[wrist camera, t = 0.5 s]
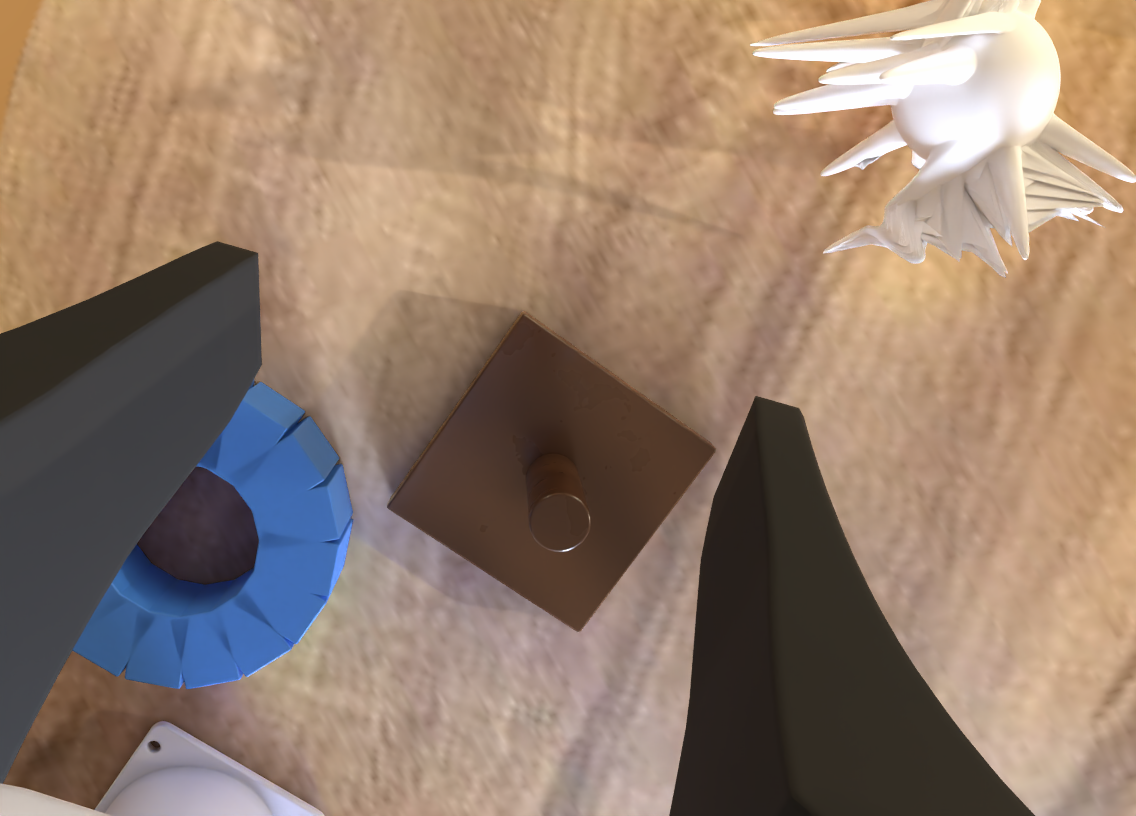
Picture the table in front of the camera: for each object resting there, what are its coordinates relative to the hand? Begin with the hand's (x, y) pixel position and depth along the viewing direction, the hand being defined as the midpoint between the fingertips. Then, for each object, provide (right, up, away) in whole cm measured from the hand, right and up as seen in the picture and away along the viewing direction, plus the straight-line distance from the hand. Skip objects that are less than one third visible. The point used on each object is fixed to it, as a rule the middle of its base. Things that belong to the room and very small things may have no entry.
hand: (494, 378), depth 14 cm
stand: (0, -3, +24) cm, 24 cm away
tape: (-13, -4, +24) cm, 28 cm away
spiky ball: (+12, +11, +23) cm, 28 cm away
